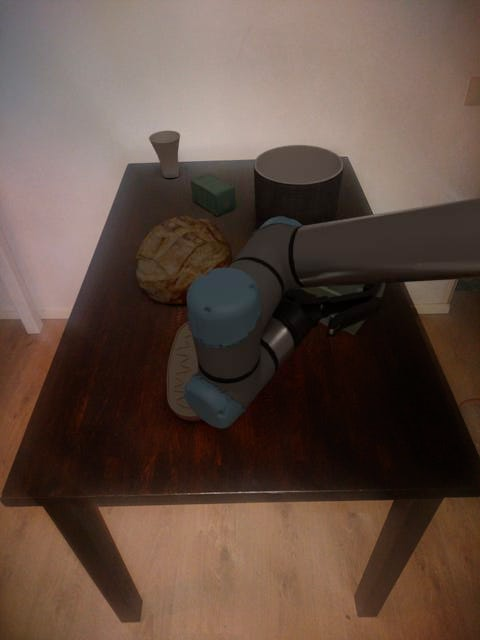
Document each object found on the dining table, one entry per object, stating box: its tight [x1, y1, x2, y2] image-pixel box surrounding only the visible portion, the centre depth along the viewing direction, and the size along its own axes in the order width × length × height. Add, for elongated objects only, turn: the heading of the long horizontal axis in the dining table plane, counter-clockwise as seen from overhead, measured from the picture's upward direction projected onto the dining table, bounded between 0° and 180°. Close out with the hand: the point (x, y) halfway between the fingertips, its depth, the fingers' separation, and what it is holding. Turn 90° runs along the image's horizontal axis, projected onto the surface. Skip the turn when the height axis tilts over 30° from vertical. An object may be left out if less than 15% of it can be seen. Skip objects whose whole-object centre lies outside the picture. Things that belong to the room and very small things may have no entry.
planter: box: [253, 144, 345, 231], centre depth 102 cm, size 22×22×20 cm
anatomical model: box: [166, 321, 202, 422], centre depth 74 cm, size 23×10×5 cm, turn 0°
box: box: [190, 172, 236, 217], centre depth 119 cm, size 7×14×8 cm, turn 41°
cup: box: [148, 130, 181, 174], centre depth 133 cm, size 10×10×14 cm
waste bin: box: [296, 283, 387, 336], centre depth 86 cm, size 15×15×9 cm
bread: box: [134, 214, 233, 305], centre depth 94 cm, size 25×27×15 cm
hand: (343, 257), depth 65 cm, fingers open, 13 cm apart
